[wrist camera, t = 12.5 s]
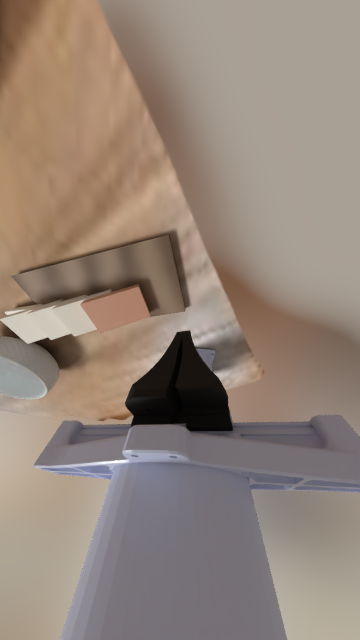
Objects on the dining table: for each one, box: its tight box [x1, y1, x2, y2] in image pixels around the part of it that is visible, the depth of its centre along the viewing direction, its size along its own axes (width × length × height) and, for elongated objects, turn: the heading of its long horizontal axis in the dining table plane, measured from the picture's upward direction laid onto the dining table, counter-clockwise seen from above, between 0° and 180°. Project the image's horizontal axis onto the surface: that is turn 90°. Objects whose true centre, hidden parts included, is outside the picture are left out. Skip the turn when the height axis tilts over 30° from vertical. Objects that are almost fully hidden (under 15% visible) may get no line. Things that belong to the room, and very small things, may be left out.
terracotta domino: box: [80, 284, 150, 333], centre depth 20 cm, size 2×5×8 cm
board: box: [11, 235, 185, 317], centre depth 21 cm, size 26×11×1 cm, turn 102°
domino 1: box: [4, 304, 43, 315], centre depth 24 cm, size 2×5×8 cm
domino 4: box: [51, 289, 113, 337], centre depth 20 cm, size 2×5×8 cm
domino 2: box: [0, 299, 64, 344], centre depth 22 cm, size 2×5×8 cm
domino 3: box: [26, 294, 87, 340], centre depth 21 cm, size 2×5×8 cm
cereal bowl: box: [0, 336, 59, 399], centre depth 29 cm, size 17×17×7 cm
